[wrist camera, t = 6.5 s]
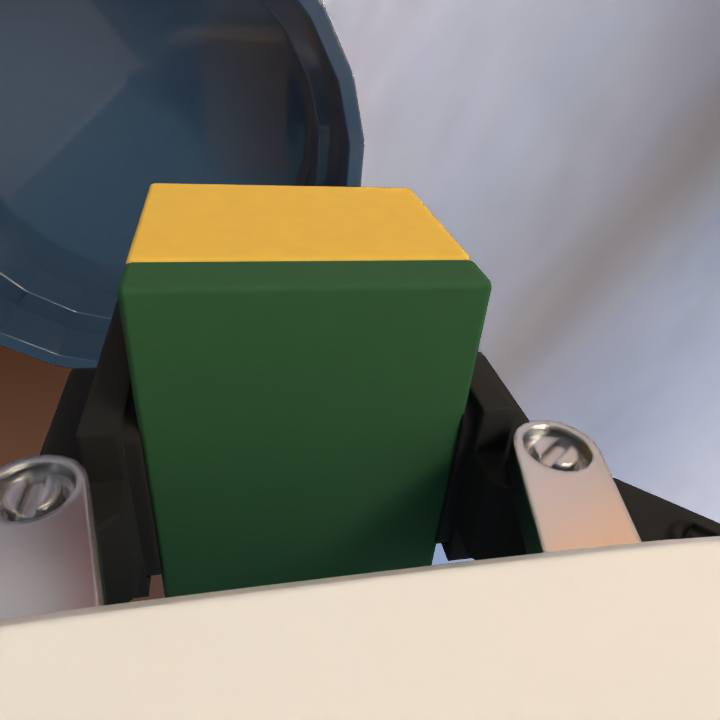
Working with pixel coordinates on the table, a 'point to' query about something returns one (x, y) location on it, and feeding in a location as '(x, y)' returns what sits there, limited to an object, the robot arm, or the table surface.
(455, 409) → the sponge
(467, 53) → the table surface
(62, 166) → the bowl
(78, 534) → the robot arm
